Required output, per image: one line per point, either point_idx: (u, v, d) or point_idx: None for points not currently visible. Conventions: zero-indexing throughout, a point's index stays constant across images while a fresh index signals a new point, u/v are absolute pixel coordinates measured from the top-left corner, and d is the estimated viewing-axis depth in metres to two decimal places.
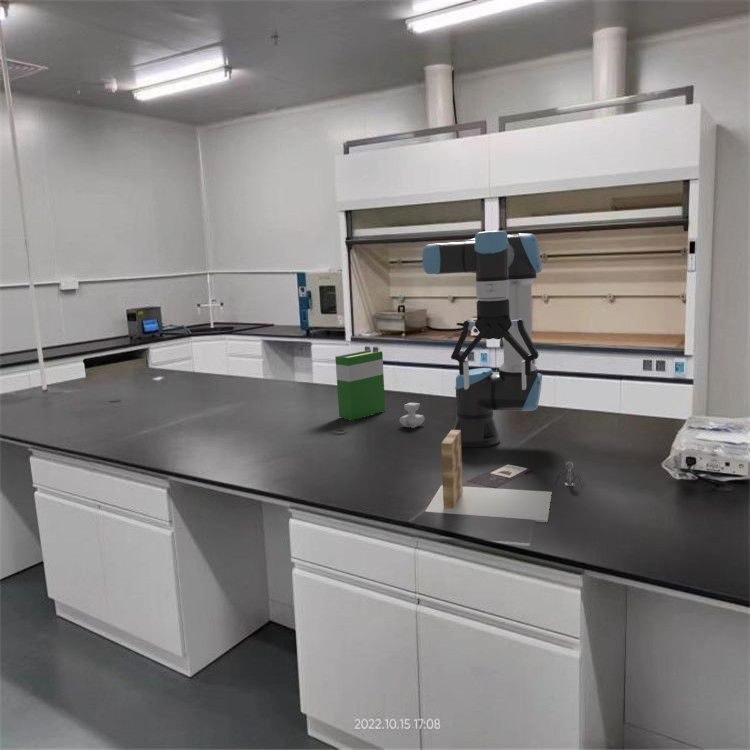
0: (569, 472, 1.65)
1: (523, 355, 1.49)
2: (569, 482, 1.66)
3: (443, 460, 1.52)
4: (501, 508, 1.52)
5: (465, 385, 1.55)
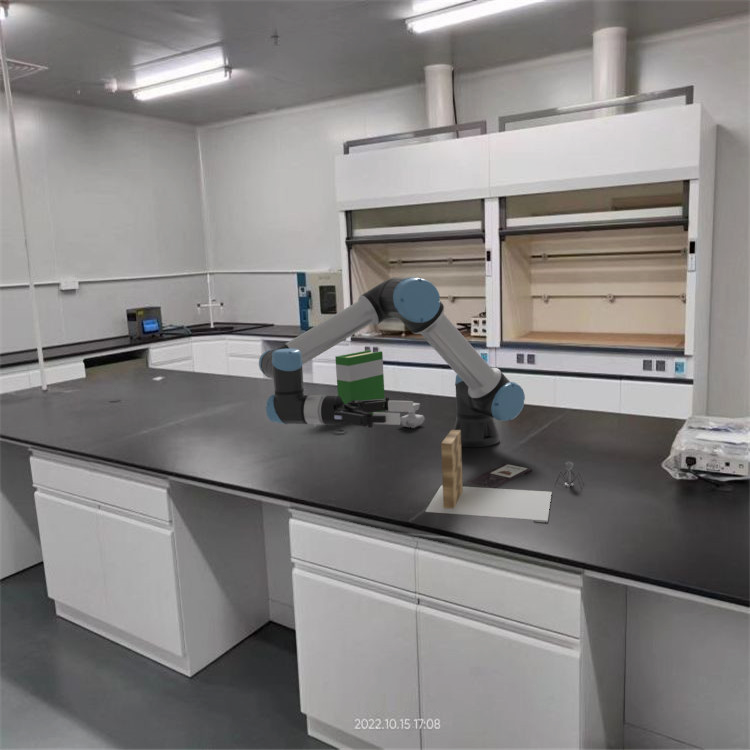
0: (569, 472, 1.65)
1: None
2: (569, 482, 1.66)
3: (443, 460, 1.52)
4: (501, 508, 1.52)
5: None
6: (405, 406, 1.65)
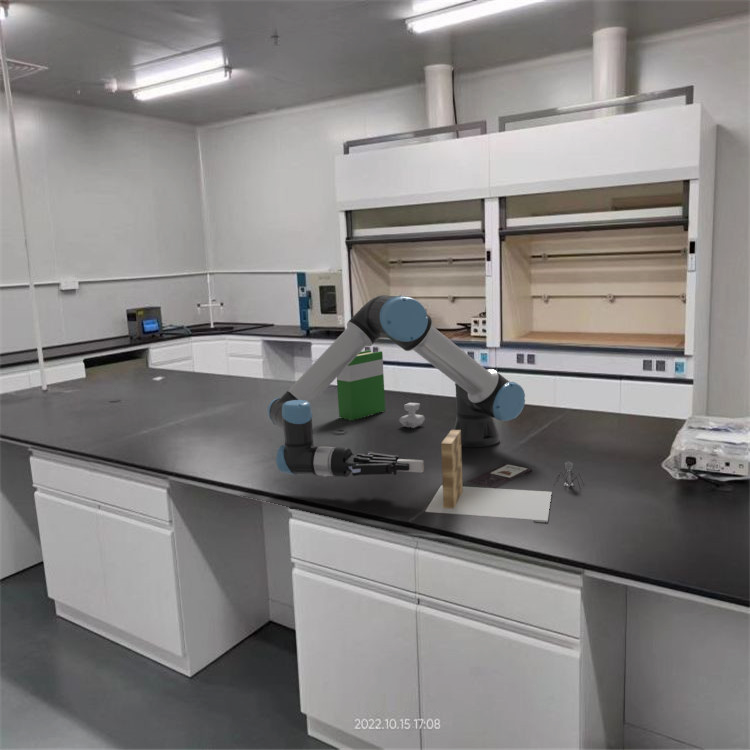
0: (568, 472, 1.65)
1: None
2: (568, 482, 1.66)
3: (443, 460, 1.52)
4: (501, 508, 1.52)
5: None
6: None
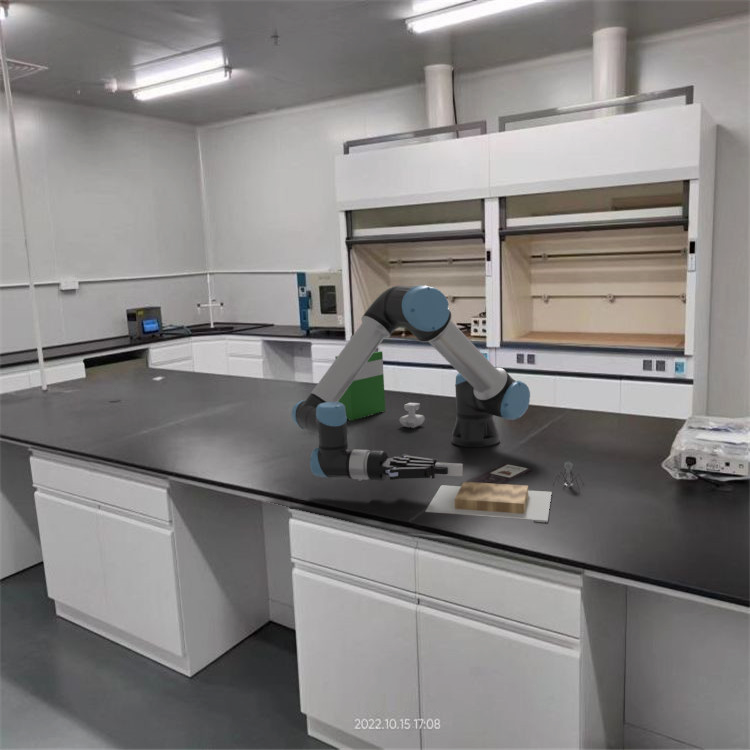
0: (568, 472, 1.65)
1: None
2: (568, 482, 1.65)
3: (505, 504, 1.49)
4: None
5: None
6: None
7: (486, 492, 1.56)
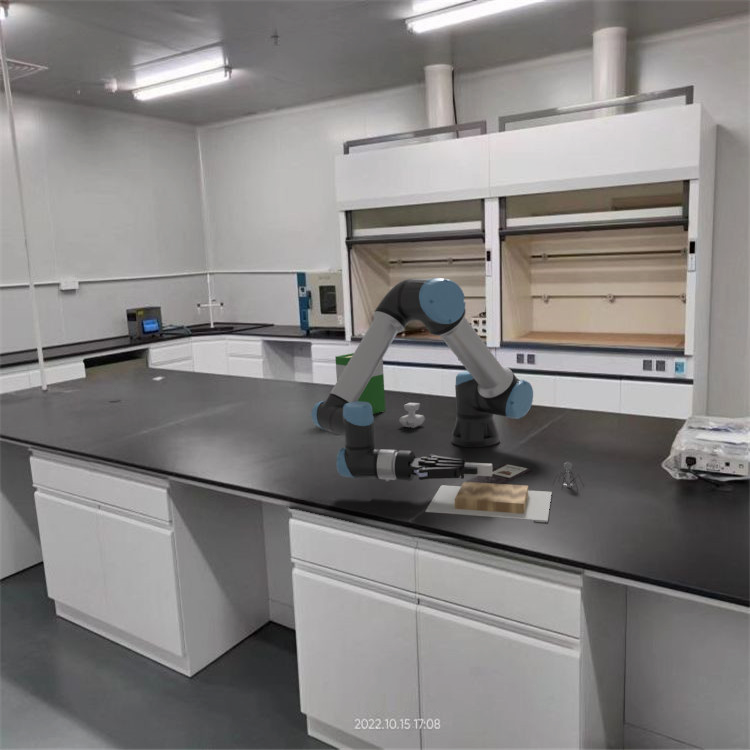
0: (567, 472, 1.65)
1: None
2: (567, 482, 1.65)
3: (505, 504, 1.49)
4: None
5: None
6: None
7: (486, 492, 1.56)
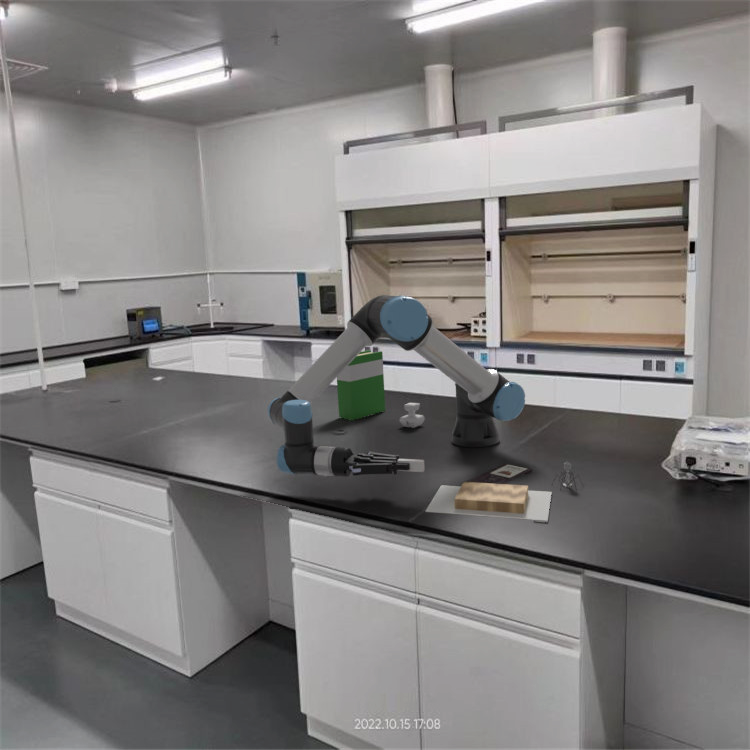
0: (567, 473, 1.65)
1: None
2: (567, 483, 1.65)
3: (505, 504, 1.49)
4: None
5: None
6: None
7: (486, 492, 1.56)
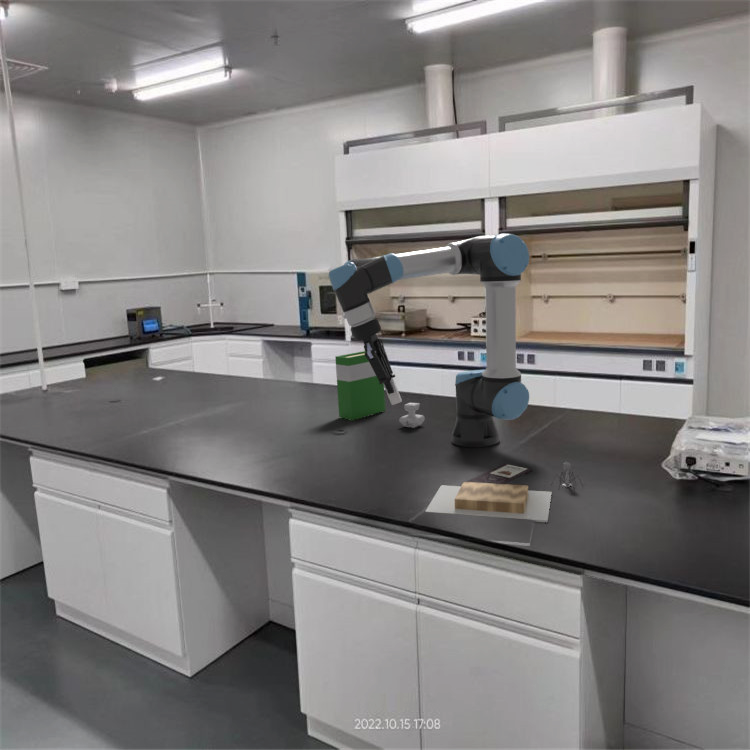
0: (566, 473, 1.65)
1: None
2: (566, 483, 1.65)
3: (505, 504, 1.49)
4: None
5: None
6: None
7: (486, 492, 1.56)
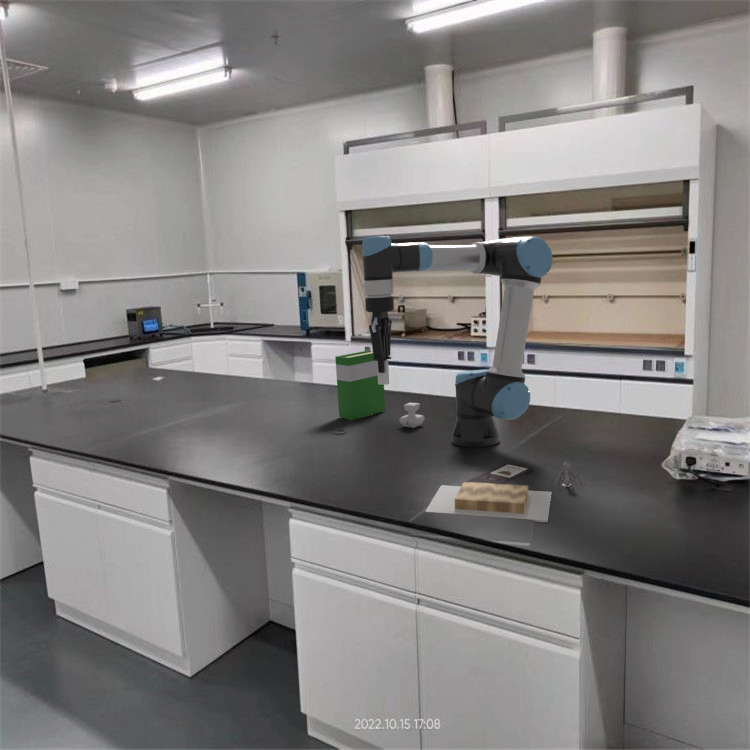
0: (566, 473, 1.65)
1: None
2: (566, 483, 1.65)
3: (505, 504, 1.49)
4: None
5: None
6: None
7: (486, 492, 1.56)
